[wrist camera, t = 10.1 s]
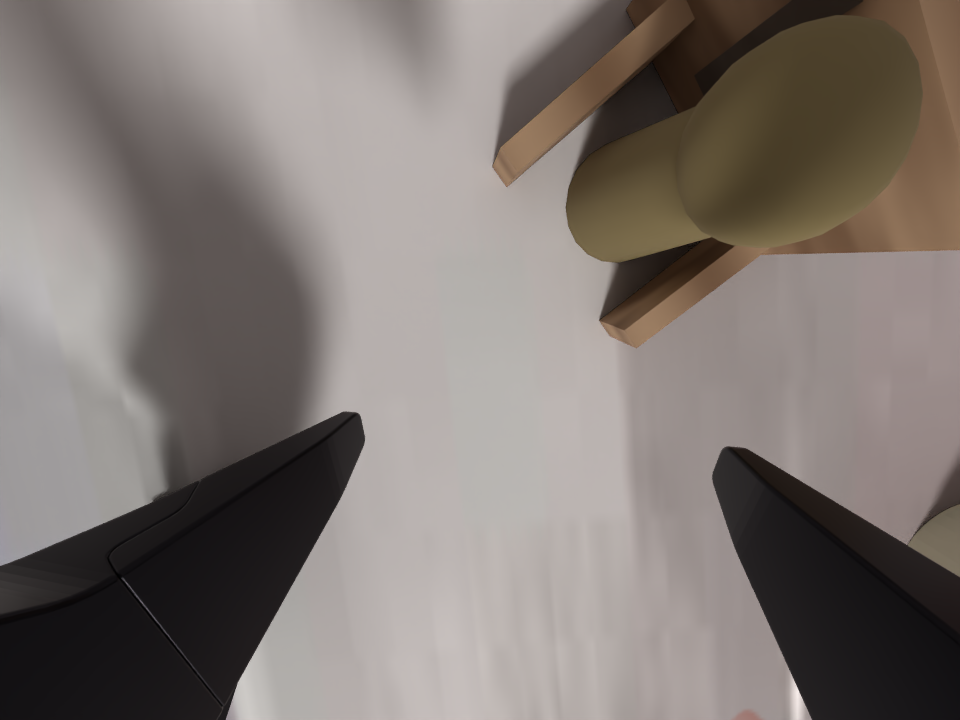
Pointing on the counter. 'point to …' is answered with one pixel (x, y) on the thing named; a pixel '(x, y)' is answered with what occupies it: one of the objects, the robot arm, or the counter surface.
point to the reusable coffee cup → (941, 539)
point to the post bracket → (692, 73)
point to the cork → (760, 148)
